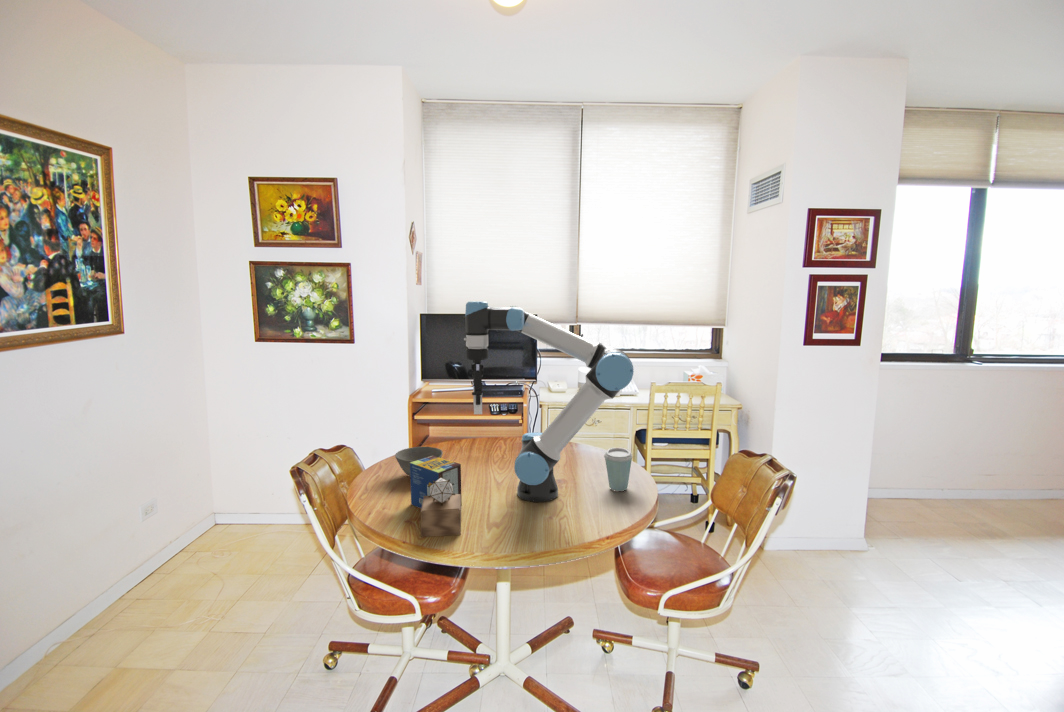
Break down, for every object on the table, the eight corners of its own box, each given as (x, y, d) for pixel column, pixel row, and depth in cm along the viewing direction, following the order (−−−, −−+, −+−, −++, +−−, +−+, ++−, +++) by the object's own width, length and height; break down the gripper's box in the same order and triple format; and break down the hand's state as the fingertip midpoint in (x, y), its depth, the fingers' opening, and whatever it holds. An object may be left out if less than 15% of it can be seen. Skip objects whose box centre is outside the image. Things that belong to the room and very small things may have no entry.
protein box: (433, 495, 183) (432, 454, 181) (462, 506, 174) (461, 463, 172) (410, 504, 175) (408, 462, 173) (439, 517, 165) (438, 472, 164)
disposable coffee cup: (633, 495, 184) (634, 455, 182) (604, 494, 184) (605, 455, 183) (629, 484, 194) (630, 447, 193) (602, 483, 195) (602, 446, 193)
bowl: (417, 489, 188) (416, 464, 187) (386, 478, 200) (385, 454, 198) (453, 475, 203) (452, 451, 202) (422, 465, 214) (422, 443, 213)
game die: (439, 511, 159) (437, 480, 164) (461, 505, 157) (459, 474, 161) (422, 507, 152) (421, 475, 157) (445, 500, 149) (444, 468, 154)
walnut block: (461, 517, 165) (460, 493, 164) (460, 534, 153) (460, 509, 152) (424, 519, 164) (423, 495, 163) (421, 536, 152) (420, 511, 151)
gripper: (465, 343, 179) (466, 401, 181) (465, 351, 154) (466, 418, 157) (486, 343, 180) (487, 401, 182) (489, 351, 155) (490, 417, 158)
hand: (477, 409), depth 169 cm, fingers open, 13 cm apart
